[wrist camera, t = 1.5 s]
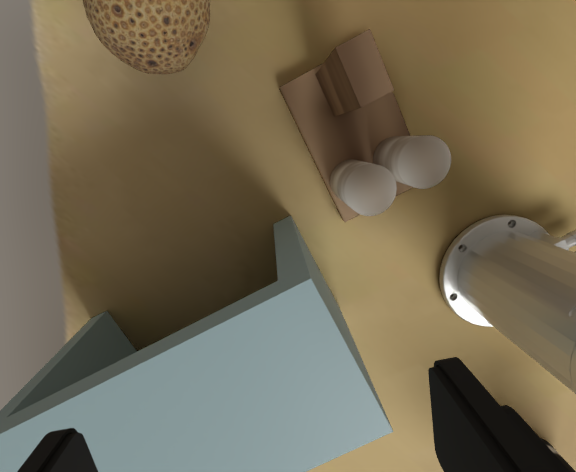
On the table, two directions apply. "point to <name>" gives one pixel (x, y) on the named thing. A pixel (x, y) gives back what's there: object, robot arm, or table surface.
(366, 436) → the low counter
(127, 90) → the table surface
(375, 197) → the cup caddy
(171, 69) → the natural sponge
